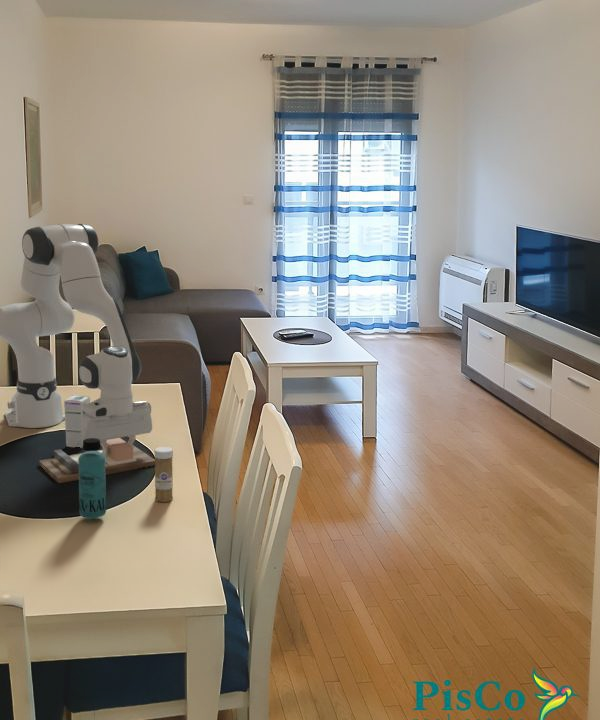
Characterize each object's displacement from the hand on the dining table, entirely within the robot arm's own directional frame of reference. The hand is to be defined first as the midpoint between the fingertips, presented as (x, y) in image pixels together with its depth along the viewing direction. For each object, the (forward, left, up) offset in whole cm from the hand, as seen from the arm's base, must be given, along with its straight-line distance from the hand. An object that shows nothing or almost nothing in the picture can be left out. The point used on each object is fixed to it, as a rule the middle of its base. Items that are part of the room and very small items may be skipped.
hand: (117, 452), depth 256 cm
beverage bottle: (+35, -21, -3) cm, 41 cm away
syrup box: (-20, -4, -3) cm, 21 cm away
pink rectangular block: (0, -1, -1) cm, 2 cm away
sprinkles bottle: (+32, -1, -3) cm, 32 cm away
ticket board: (0, -6, -3) cm, 7 cm away
